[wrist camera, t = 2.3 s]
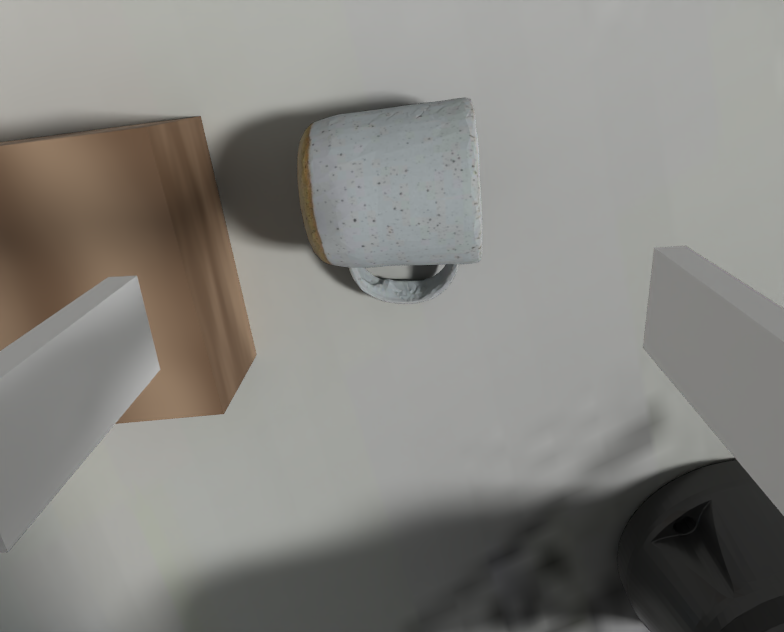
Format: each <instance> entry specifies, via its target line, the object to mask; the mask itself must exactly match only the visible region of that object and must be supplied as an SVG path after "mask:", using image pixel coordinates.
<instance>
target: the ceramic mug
mask: <svg viewBox="0 0 784 632" xmlns="http://www.w3.org/2000/svg"><path fill="white" fill-rule="evenodd" d="M297 178H298V190H299V199H300V207H301V212H302V217H303V221H304V226H305V229H306V233H307V236H308V240H309V242H310V244H311V246H312V249H313V251H314V252H315V253H316V255H317V256H318V257H319V258H320V259H321V260H322V261H323V262H325V263H327V264H331V265H336V266H342V267H349V271H350V273H351V275H352V277H353V280H354V281H355V282H356V284H357V285H358V286H359V288H360V289H361V290H362V291H364V292H365V293H367V294H368V295H370V296H372V297H374V298H376V299H379V300H381V301H385V302H390V303H397V304H413V303H420V302H424V301H428V300H430V299H433V298H435V297H437V296H438V295H439V294H441V293H442V292H443V291H444V290H446V289H447V287H448V286H449V285H450V284H451V282H452V280H453V279H454V277H455V275H456V273H457V270H458V267H459V264H471V263H477V262H479V261H480V260H481V256H482V208H481V186H480V171H479V146H478V136H477V130H476V118H475V112H474V108H473V103H472V101H471V99H469V98H457V99H451V100H445V101H437V102H428V103H420V104H413V105H405V106H398V107H392V108H385V109H378V110H370V111H362V112H354V113H346V114H338V115H335V116H332V117H328V118H325V119H322V120H319V121H316V122H314V123H312V124H311V125H310V126H309V127H308V128H307V129H306V130H305V132H304V134H303V136H302V138H301V140H300V144H299V149H298V158H297ZM437 264H446V265H445V267H444V268H443V269H442V270H441V271H440V272H439V273H437V274H436V275H435V276H433V277H431V278H427V279H425V280H420V281H394V280H391V279H383V280H382V279H380V278H377V277H375V276H374V275H373V274H371V273H370V272H369V271H368V270H366V268H369V267H381V266H393V265H437Z"/></svg>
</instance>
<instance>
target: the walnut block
mask: <svg viewBox="0 0 784 632" xmlns="http://www.w3.org/2000/svg"><path fill="white" fill-rule="evenodd" d="M119 276H137V278H138V282H139V286H140V290H141V294H142V298H143V302H144V306H145V310H146V314H147V318H148V322H149V326H150V330H151V334H152V338H153V342H154V346H155V350H156V354H157V358H158V362H159V366H160V371H159V372H158V373H157V374H156V375H155V377H154V378H153V379H152V380H151V381H150V383H149V384H148V385H147V386H146V387H145V389H144V390H143V391H142V392H141V393H140V395H139V396H138V397H137V398H136V399H135V401H134V402H133V403H132V404H131V405H130V407H129V408H128V409H127V410H126V411H125V413H124V414H123V415H122V416H121V417H120V419H119V420H118V421H117V422H116V423H115V424H118V423H129V422H140V421H151V420H162V419H173V418H184V417H196V416H207V415H218V414H224V413H225V411H226V409H227V407H228V406H229V404H230V402H231V400H232V398H233V397H234V395H235V393H236V391H237V389H238V387H239V386H240V384H241V382H242V380H243V378H244V377H245V375H246V373H247V371H248V369H249V368H250V366H251V364H252V362H253V360H254V359H255V357H256V350H255V346H254V342H253V337H252V333H251V329H250V325H249V320H248V316H247V312H246V308H245V303H244V299H243V295H242V291H241V286H240V282H239V278H238V274H237V269H236V265H235V261H234V256H233V252H232V248H231V244H230V239H229V235H228V231H227V227H226V222H225V218H224V214H223V210H222V205H221V201H220V197H219V193H218V188H217V184H216V180H215V175H214V171H213V167H212V163H211V158H210V154H209V150H208V146H207V141H206V137H205V133H204V129H203V124H202V120H201V116H198V117H190V118H183V119H175V120H167V121H160V122H152V123H144V124H137V125H129V126H121V127H114V128H106V129H98V130H91V131H83V132H75V133H68V134H60V135H52V136H45V137H37V138H29V139H21V140H14V141H6V142H0V351H1V350H3V349H4V348H5V347H7V346H8V345H10V344H11V343H13V342H14V341H16V340H17V339H19V338H20V337H22V336H23V335H24V334H26V333H27V332H29V331H30V330H32V329H33V328H35V327H36V326H38V325H39V324H41V323H42V322H43V321H45V320H46V319H48V318H49V317H51V316H52V315H54V314H55V313H57V312H58V311H59V310H61V309H62V308H64V307H65V306H67V305H68V304H70V303H71V302H73V301H74V300H76V299H77V298H78V297H80V296H81V295H83V294H84V293H86V292H87V291H89V290H90V289H92V288H93V287H95V286H96V285H97V284H99V283H100V282H102V281H103V280H105V279H106V278H108V277H119Z"/></svg>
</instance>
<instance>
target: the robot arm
mask: <svg viewBox="0 0 784 632" xmlns="http://www.w3.org/2000/svg"><path fill="white" fill-rule="evenodd" d="M643 348H644V350H645V351H646V352H647V353H648V354H649V356H650V357H651V358H652V359H653V360H654V362H655V363H656V364H657V365H658V366H659V368H660V369H661V370H662V371H663V372H664V374H665V375H666V376H667V377H668V378H669V380H670V381H671V382H672V383H673V384H674V386H675V387H676V388H677V389H678V390H679V391H680V393H681V394H682V395H683V396H684V397H685V399H686V400H687V401H688V402H689V403H690V405H691V406H692V407H693V408H694V409H695V411H696V412H697V413H698V414H699V415H700V417H701V418H702V419H703V420H704V421H705V423H706V424H707V425H708V426H709V427H710V429H711V430H712V431H713V432H714V433H715V434H716V436H717V437H718V438H719V439H720V440H721V442H722V443H723V444H724V445H725V446H726V448H727V449H728V450H729V451H730V452H731V454H732V455H733V456H734V457H735V458H736V460H735V461H728V462H722V463H718V464H713V465H710V466H706V467H703V468H700V469H697V470H694V471H692V472H690V473H687V474H685V475H683V476H681V477H679V478H677V479H675V480H673V481H672V482H670V483H668V484H667V485H665V486H664V487H662V488H661V489H659V490H658V491H657V492H655V493H654V494H653V495H652V496H651V497H649V498H648V499H647V500H646V501H645V502H644V503H643V504H642V505H641V506H640V507H639V509H638V510H637V511H636V512H635V514H634V515H633V516H632V518H631V519H630V521H629V522H628V524H627V526H626V528H625V530H624V532H623V534H622V537H621V540H620V543H619V548H618V556H617V563H618V571H619V575H620V578H621V581H622V584H623V586H624V589H625V591H626V593H627V596H628V598H629V601H630V603H631V605H632V607H633V609H634V611H635V612H636V614H637V615H638V617H639V619H640V620H641V621H642V623H643V624H644V625H645V626H646V627H647V628H648V629H649V630H650V631H651V632H784V308H783V307H781V306H779V305H778V304H776V303H775V302H773V301H772V300H770V299H768V298H767V297H765V296H764V295H762V294H761V293H759V292H757V291H756V290H754V289H753V288H751V287H750V286H748V285H746V284H745V283H743V282H742V281H740V280H739V279H737V278H736V277H734V276H732V275H731V274H729V273H728V272H726V271H725V270H723V269H721V268H720V267H718V266H717V265H715V264H714V263H712V262H710V261H709V260H707V259H706V258H704V257H703V256H701V255H699V254H698V253H696V252H695V251H693V250H692V249H690V248H688V247H687V246H673V247H655V248H654V253H653V262H652V271H651V280H650V289H649V298H648V307H647V315H646V324H645V333H644V342H643ZM159 371H160V366H159V362H158V358H157V354H156V350H155V346H154V342H153V338H152V334H151V330H150V326H149V322H148V318H147V314H146V310H145V306H144V302H143V298H142V294H141V290H140V286H139V282H138V278H137V276H119V277H108V278H106V279H105V280H103V281H102V282H100V283H99V284H97V285H96V286H95V287H93V288H92V289H90V290H89V291H87V292H86V293H84V294H83V295H81V296H80V297H78V298H77V299H76V300H74V301H73V302H71V303H70V304H68V305H67V306H65V307H64V308H62V309H61V310H59V311H58V312H57V313H55V314H54V315H52V316H51V317H49V318H48V319H46V320H45V321H43V322H42V323H41V324H39V325H38V326H36V327H35V328H33V329H32V330H30V331H29V332H27V333H26V334H24V335H23V336H22V337H20V338H19V339H17V340H16V341H14V342H13V343H11V344H10V345H8V346H7V347H5V348H4V349H3V350H1V351H0V552H9V550H10V549H11V548H12V547H13V546H14V544H15V543H16V542H17V541H18V540H19V538H20V537H21V536H22V535H23V534H24V532H25V531H26V530H27V529H28V528H29V526H30V525H31V524H32V523H33V522H34V520H35V519H36V518H37V517H38V516H39V514H40V513H41V512H42V511H43V510H44V508H45V507H46V506H47V505H48V504H49V502H50V501H51V500H52V499H53V498H54V496H55V495H56V494H57V493H58V492H59V490H60V489H61V488H62V487H63V486H64V484H65V483H66V482H67V481H68V480H69V478H70V477H71V476H72V475H73V474H74V472H75V471H76V470H77V469H78V468H79V466H80V465H81V464H82V463H83V462H84V460H85V459H86V458H87V457H88V456H89V454H90V453H91V452H92V451H93V450H94V448H95V447H96V446H97V445H98V444H99V443H100V441H101V440H102V439H103V438H104V437H105V435H106V434H107V433H108V432H109V431H110V429H111V428H112V427H113V426H114V425H115V423H116V422H117V421H118V420H119V419H120V417H121V416H122V415H123V414H124V413H125V411H126V410H127V409H128V408H129V407H130V405H131V404H132V403H133V402H134V401H135V399H136V398H137V397H138V396H139V395H140V393H141V392H142V391H143V390H144V389H145V387H146V386H147V385H148V384H149V383H150V381H151V380H152V379H153V378H154V377H155V375H156V374H157V373H158V372H159Z"/></svg>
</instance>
